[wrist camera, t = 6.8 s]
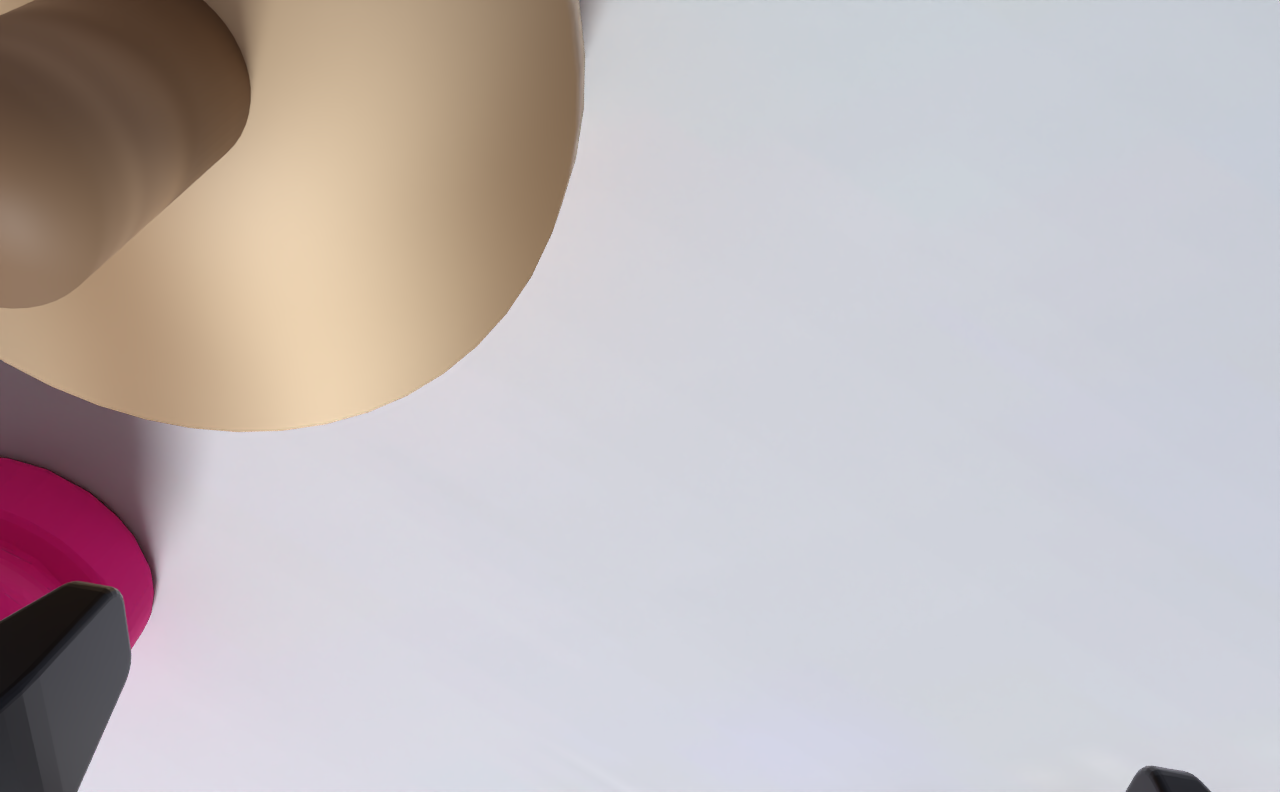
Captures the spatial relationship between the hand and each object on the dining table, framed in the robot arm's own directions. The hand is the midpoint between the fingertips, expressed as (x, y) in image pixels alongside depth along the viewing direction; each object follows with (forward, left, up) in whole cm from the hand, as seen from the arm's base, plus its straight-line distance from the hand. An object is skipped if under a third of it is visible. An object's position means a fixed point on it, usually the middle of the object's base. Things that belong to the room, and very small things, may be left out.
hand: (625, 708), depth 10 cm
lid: (+7, -3, -8) cm, 11 cm away
